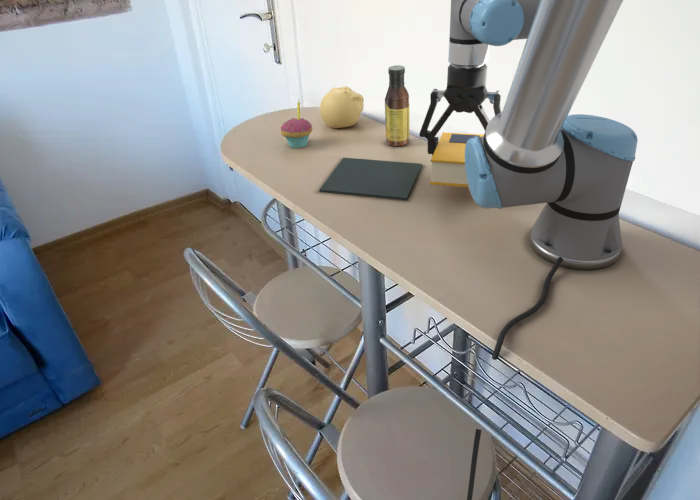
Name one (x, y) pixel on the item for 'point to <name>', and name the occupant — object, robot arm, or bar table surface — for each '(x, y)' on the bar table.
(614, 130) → the robot arm
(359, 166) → the desk mat
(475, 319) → the bar table surface
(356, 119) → the sculpture
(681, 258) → the bar table surface
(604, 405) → the bar table surface
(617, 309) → the bar table surface
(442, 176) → the yellow box with panel
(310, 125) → the cupcake
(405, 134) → the sauce bottle
